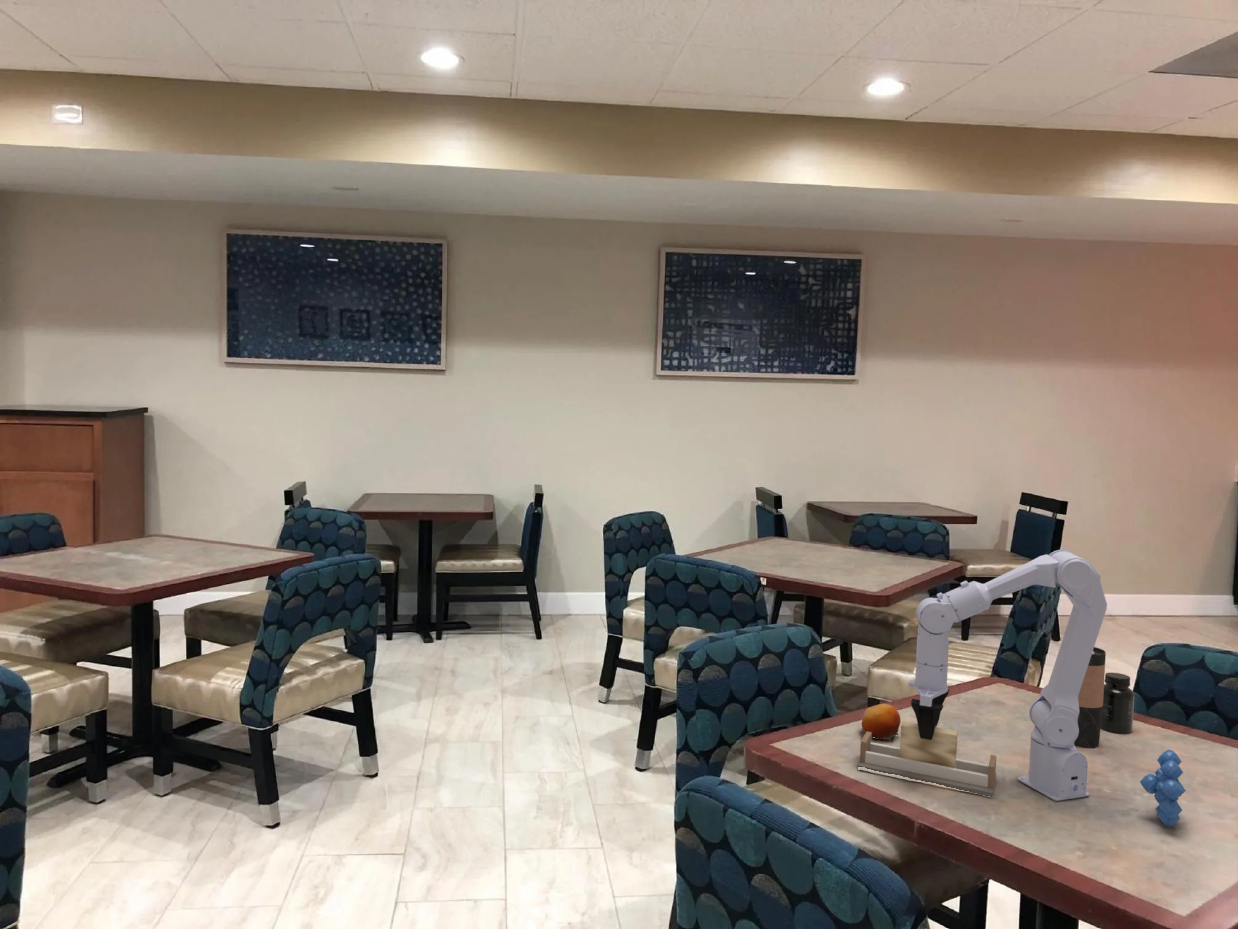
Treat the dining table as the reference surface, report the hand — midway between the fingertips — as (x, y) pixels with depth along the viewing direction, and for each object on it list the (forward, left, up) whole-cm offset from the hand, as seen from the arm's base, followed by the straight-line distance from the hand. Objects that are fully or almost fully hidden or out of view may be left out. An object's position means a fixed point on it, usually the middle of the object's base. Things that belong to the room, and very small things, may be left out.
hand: (928, 731), depth 167 cm
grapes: (-27, -28, -9) cm, 39 cm away
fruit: (+19, -3, -9) cm, 21 cm away
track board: (0, 0, -8) cm, 8 cm away
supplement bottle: (+9, -57, -9) cm, 58 cm away
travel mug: (+5, -43, -9) cm, 44 cm away
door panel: (0, 0, -7) cm, 7 cm away
